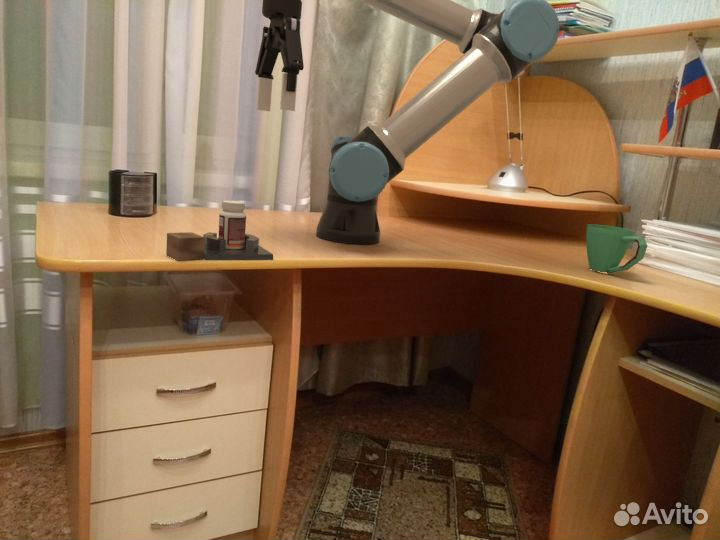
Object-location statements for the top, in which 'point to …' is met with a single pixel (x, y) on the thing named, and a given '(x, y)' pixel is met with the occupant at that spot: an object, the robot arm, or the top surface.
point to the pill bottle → (232, 224)
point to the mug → (611, 247)
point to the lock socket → (251, 250)
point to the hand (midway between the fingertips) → (274, 110)
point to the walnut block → (185, 246)
